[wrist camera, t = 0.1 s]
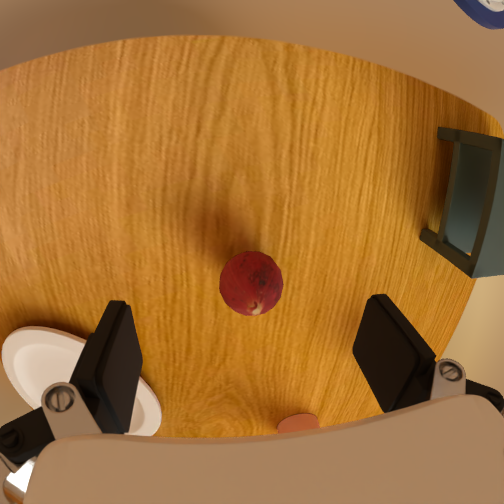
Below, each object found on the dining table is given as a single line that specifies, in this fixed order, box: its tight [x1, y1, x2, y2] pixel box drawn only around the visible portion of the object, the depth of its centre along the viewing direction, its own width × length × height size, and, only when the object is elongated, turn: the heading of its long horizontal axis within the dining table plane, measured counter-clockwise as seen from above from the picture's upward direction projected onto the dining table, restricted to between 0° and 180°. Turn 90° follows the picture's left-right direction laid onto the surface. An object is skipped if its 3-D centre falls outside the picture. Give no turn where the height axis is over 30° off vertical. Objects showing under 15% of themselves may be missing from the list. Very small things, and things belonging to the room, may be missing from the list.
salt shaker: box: [277, 413, 320, 434], centre depth 36 cm, size 7×7×19 cm
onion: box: [219, 251, 283, 316], centre depth 27 cm, size 6×6×8 cm
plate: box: [2, 326, 162, 436], centre depth 35 cm, size 28×28×2 cm
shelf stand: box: [420, 127, 504, 278], centre depth 25 cm, size 14×12×10 cm
